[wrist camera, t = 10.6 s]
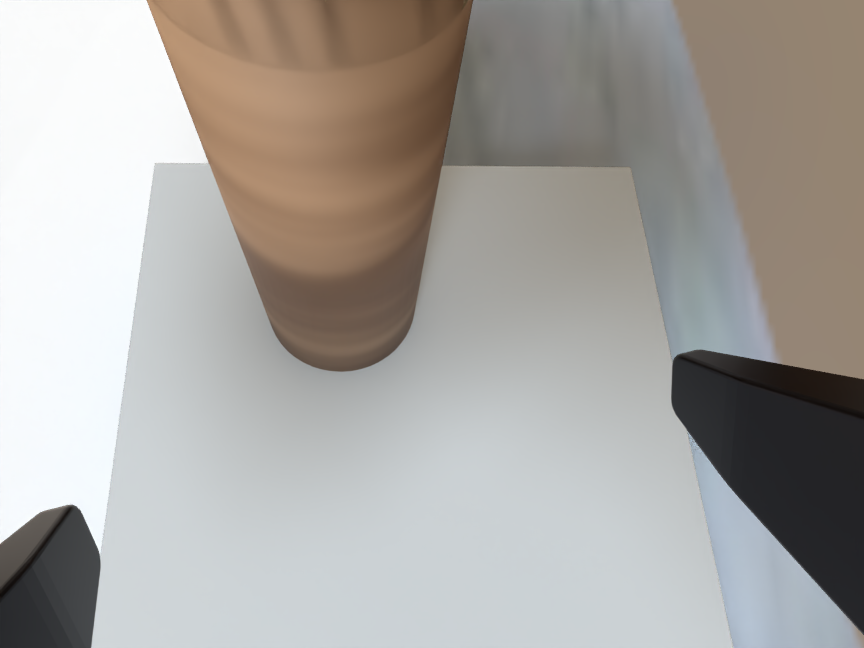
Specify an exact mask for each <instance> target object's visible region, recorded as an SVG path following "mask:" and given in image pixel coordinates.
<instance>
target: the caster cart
mask: <svg viewBox="0 0 864 648" xmlns="http://www.w3.org/2000/svg"><path fill="white" fill-rule="evenodd" d="M672 364H673V363H672V358H671V354H670V349H669V344H668V340H667V335H666V330H665V326H664V321H663V316H662V312H661V307H660V302H659V298H658V293H657V288H656V284H655V279H654V274H653V270H652V265H651V260H650V256H649V251H648V246H647V241H646V237H645V232H644V227H643V223H642V218H641V213H640V209H639V204H638V199H637V195H636V190H635V185H634V181H633V176H632V171H631V167H545V166H442V168H441V173H440V179H439V184H438V189H437V195H436V200H435V205H434V211H433V216H432V221H431V227H430V232H429V237H428V243H427V248H426V253H425V259H424V264H423V269H422V275H421V280H420V285H419V291H418V296H417V301H416V307H415V312H414V317H413V321H412V324H411V327H410V329H409V331H408V333H407V335H406V337H405V339H404V340H403V341H402V343H401V344H400V345H399V346H398V347H397V349H396V350H395V351H394V352H392V353H391V354H390V355H389V356H388V357H386V358H384V359H383V360H381V361H380V362H378V363H376V364H374V365H372V366H369V367H366V368H363V369H359V370H354V371H344V372H338V371H328V370H322V369H319V368H315V367H312V366H310V365H308V364H306V363H304V362H302V361H300V360H299V359H297V358H296V357H294V356H293V355H292V354H291V353H289V352H288V351H287V350H286V349H285V348H284V346H283V345H282V344H281V343H280V341H279V340H278V338H277V337H276V335H275V333H274V331H273V329H272V327H271V324H270V321H269V319H268V316H267V313H266V311H265V308H264V306H263V303H262V300H261V298H260V295H259V293H258V290H257V287H256V285H255V282H254V279H253V277H252V274H251V272H250V269H249V266H248V264H247V261H246V259H245V256H244V253H243V251H242V248H241V245H240V243H239V240H238V238H237V235H236V232H235V230H234V227H233V225H232V222H231V219H230V217H229V214H228V211H227V209H226V206H225V204H224V201H223V198H222V196H221V193H220V191H219V188H218V185H217V183H216V180H215V177H214V175H213V172H212V170H211V167H210V164H201V163H155V166H154V173H153V181H152V188H151V195H150V202H149V209H148V217H147V224H146V231H145V238H144V245H143V253H142V260H141V267H140V274H139V281H138V289H137V296H136V303H135V310H134V317H133V325H132V332H131V339H130V346H129V353H128V361H127V368H126V375H125V382H124V389H123V397H122V404H121V411H120V418H119V425H118V433H117V440H116V447H115V454H114V461H113V468H112V476H111V483H110V490H109V497H108V504H107V512H106V519H105V526H104V533H103V540H102V548H101V555H100V560H101V570H100V578H99V587H98V595H97V604H96V612H95V621H94V629H93V638H92V646H91V648H733V643H732V639H731V634H730V629H729V625H728V620H727V615H726V611H725V606H724V601H723V597H722V592H721V587H720V583H719V578H718V573H717V569H716V564H715V559H714V555H713V550H712V545H711V541H710V536H709V531H708V527H707V522H706V517H705V513H704V508H703V503H702V499H701V494H700V489H699V485H698V480H697V475H696V471H695V466H694V461H693V456H692V452H691V447H690V442H689V438H688V433H687V429H686V428H685V427H684V425H683V424H682V423H681V421H680V420H679V419H678V417H677V416H676V414H675V412H674V410H673V407H672V403H671V385H672Z"/></svg>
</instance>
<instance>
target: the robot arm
mask: <svg viewBox="0 0 864 648" xmlns="http://www.w3.org/2000/svg"><path fill="white" fill-rule="evenodd" d="M671 403H672V407H673V410H674V412H675V414H676V416H677V417H678V419H679V420H680V421H681V423H682V424H683V425H684V427H685V428H686V429H687V431H688V432H689V433H690V435H691V436H692V437H693V439H694V440H695V442H696V443H697V444H698V446H699V447H700V448H701V450H702V451H703V452H704V454H705V455H706V456H707V458H708V459H709V461H710V462H711V463H712V465H713V466H714V467H715V469H716V470H717V471H718V473H719V474H720V475H721V477H722V478H723V479H724V480H725V482H726V483H727V484H728V485H729V487H730V488H731V489H732V490H733V491H734V493H735V494H736V495H737V496H738V497H739V498H740V499H741V501H742V502H743V503H744V504H745V505H746V506H747V507H748V508H749V509H750V510H751V512H752V513H753V514H754V515H755V516H756V517H757V518H758V519H759V520H760V521H761V523H762V524H763V525H764V526H765V527H766V528H767V529H768V530H769V531H770V532H771V534H772V535H773V536H774V537H775V538H776V539H777V540H778V541H779V542H780V543H781V545H782V546H783V547H784V548H785V549H786V550H787V551H788V552H789V553H790V554H791V556H792V557H793V558H794V559H795V560H796V561H797V562H798V563H799V564H800V565H801V567H802V568H803V569H804V570H805V571H806V572H807V573H808V574H809V575H810V576H811V578H812V579H813V580H814V581H815V582H816V583H817V584H818V585H819V586H820V587H821V589H822V590H823V591H824V592H825V593H826V594H827V595H828V596H829V597H830V598H831V600H832V601H833V602H834V603H835V604H836V605H837V606H838V607H839V608H840V609H841V611H842V612H843V613H844V614H845V615H846V616H847V617H848V618H849V619H850V620H851V622H852V623H853V624H854V625H855V626H856V627H857V628H858V629H859V630H860V631H861V633H862V634H863V635H864V379H858V378H853V377H847V376H842V375H837V374H831V373H826V372H821V371H815V370H810V369H804V368H799V367H793V366H788V365H782V364H777V363H772V362H766V361H761V360H755V359H750V358H744V357H739V356H733V355H728V354H723V353H717V352H712V351H706V350H694V351H690V352H686V353H682V354H679V355H677V356H676V357H675V358H674V360H673V364H672V385H671ZM100 570H101V560H100V554H99V551H98V548H97V546H96V544H95V541H94V539H93V537H92V535H91V533H90V530H89V528H88V526H87V524H86V521H85V519H84V517H83V515H82V513H81V511H80V510H79V509H78V508H77V507H76V506H74V505H66V506H62V507H58V508H54V509H50V510H46V511H43V512H40V513H39V514H37V515H36V516H35V517H34V518H32V519H31V520H30V521H28V522H27V523H26V524H25V525H23V526H22V527H21V528H20V529H18V530H17V531H16V532H15V533H13V534H12V535H11V536H10V537H8V538H7V539H6V540H5V541H3V542H2V543H1V544H0V648H91V646H92V638H93V629H94V621H95V612H96V604H97V595H98V587H99V578H100Z"/></svg>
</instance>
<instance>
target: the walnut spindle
mask: <svg viewBox="0 0 864 648" xmlns="http://www.w3.org/2000/svg"><path fill="white" fill-rule="evenodd" d="M147 2H148V5H149V7H150V10H151V13H152V15H153V18H154V21H155V23H156V26H157V28H158V31H159V34H160V36H161V39H162V41H163V44H164V47H165V49H166V52H167V55H168V57H169V60H170V62H171V65H172V68H173V70H174V73H175V75H176V78H177V81H178V83H179V86H180V89H181V91H182V94H183V96H184V99H185V102H186V104H187V107H188V109H189V112H190V115H191V117H192V120H193V123H194V125H195V128H196V130H197V133H198V136H199V138H200V141H201V143H202V146H203V149H204V151H205V154H206V157H207V159H208V162H209V164H210V167H211V170H212V172H213V175H214V177H215V180H216V183H217V185H218V188H219V191H220V193H221V196H222V198H223V201H224V204H225V206H226V209H227V211H228V214H229V217H230V219H231V222H232V225H233V227H234V230H235V232H236V235H237V238H238V240H239V243H240V245H241V248H242V251H243V253H244V256H245V259H246V261H247V264H248V266H249V269H250V272H251V274H252V277H253V279H254V282H255V285H256V287H257V290H258V293H259V295H260V298H261V300H262V303H263V306H264V308H265V311H266V313H267V316H268V319H269V321H270V324H271V327H272V329H273V331H274V333H275V335H276V337H277V338H278V340H279V341H280V343H281V344H282V345H283V346H284V348H285V349H286V350H287V351H288V352H289V353H291V354H292V355H293V356H294V357H296V358H297V359H299V360H300V361H302V362H304V363H306V364H308V365H310V366H312V367H315V368H319V369H322V370H328V371H338V372H344V371H354V370H359V369H363V368H366V367H369V366H372V365H374V364H376V363H378V362H380V361H381V360H383V359H384V358H386V357H388V356H389V355H390V354H391V353H392V352H394V351H395V350H396V349H397V347H398V346H399V345H400V344H401V343H402V341H403V340H404V339H405V337H406V335H407V333H408V331H409V329H410V327H411V324H412V321H413V317H414V312H415V307H416V301H417V296H418V291H419V285H420V280H421V275H422V269H423V264H424V259H425V253H426V248H427V243H428V237H429V232H430V227H431V221H432V216H433V211H434V205H435V200H436V195H437V189H438V184H439V179H440V173H441V168H442V163H443V157H444V152H445V147H446V141H447V136H448V131H449V125H450V120H451V115H452V109H453V104H454V99H455V93H456V88H457V83H458V77H459V72H460V67H461V61H462V56H463V51H464V45H465V40H466V35H467V29H468V24H469V19H470V13H471V8H472V3H473V0H147Z"/></svg>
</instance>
